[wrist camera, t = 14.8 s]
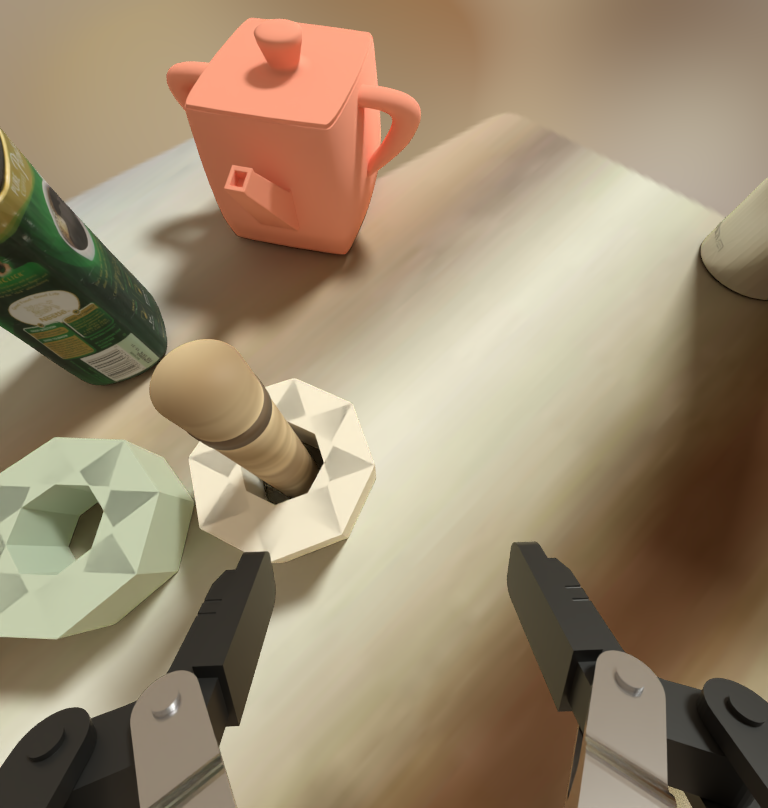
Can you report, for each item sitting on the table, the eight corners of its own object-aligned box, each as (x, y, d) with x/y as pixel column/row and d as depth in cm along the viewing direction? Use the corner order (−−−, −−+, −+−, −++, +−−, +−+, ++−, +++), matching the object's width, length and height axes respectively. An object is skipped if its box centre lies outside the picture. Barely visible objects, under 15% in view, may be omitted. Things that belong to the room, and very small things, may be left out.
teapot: (241, 145, 42) (180, -34, 29) (423, 173, 41) (443, -4, 28) (165, 271, 35) (38, 104, 22) (386, 312, 33) (389, 158, 20)
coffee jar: (66, 316, 32) (-286, 48, 15) (154, 285, 34) (-77, 9, 17) (85, 403, 29) (-341, 185, 12) (181, 364, 30) (-74, 120, 13)
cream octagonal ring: (393, 441, 28) (395, 421, 24) (326, 584, 24) (315, 590, 20) (272, 388, 30) (255, 361, 25) (192, 513, 26) (155, 505, 22)
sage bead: (205, 458, 27) (173, 441, 23) (165, 626, 23) (117, 641, 19) (62, 453, 27) (5, 435, 23) (-5, 619, 23) (-89, 633, 19)
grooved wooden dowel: (328, 465, 27) (266, 358, 12) (306, 506, 26) (210, 441, 11) (290, 448, 28) (188, 325, 13) (267, 487, 26) (126, 400, 12)
